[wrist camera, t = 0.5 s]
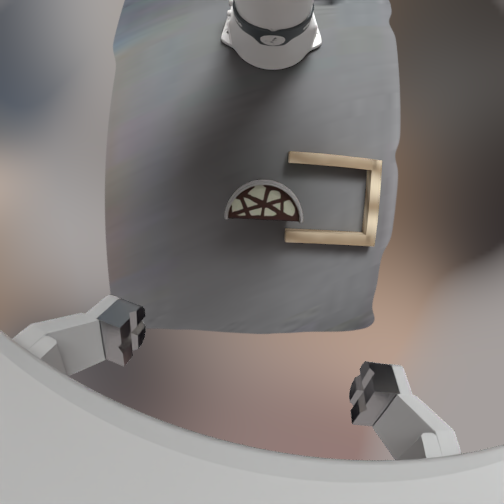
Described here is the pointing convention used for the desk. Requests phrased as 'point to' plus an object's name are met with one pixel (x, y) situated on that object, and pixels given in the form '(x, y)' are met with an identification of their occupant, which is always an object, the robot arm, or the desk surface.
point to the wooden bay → (369, 209)
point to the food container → (264, 202)
